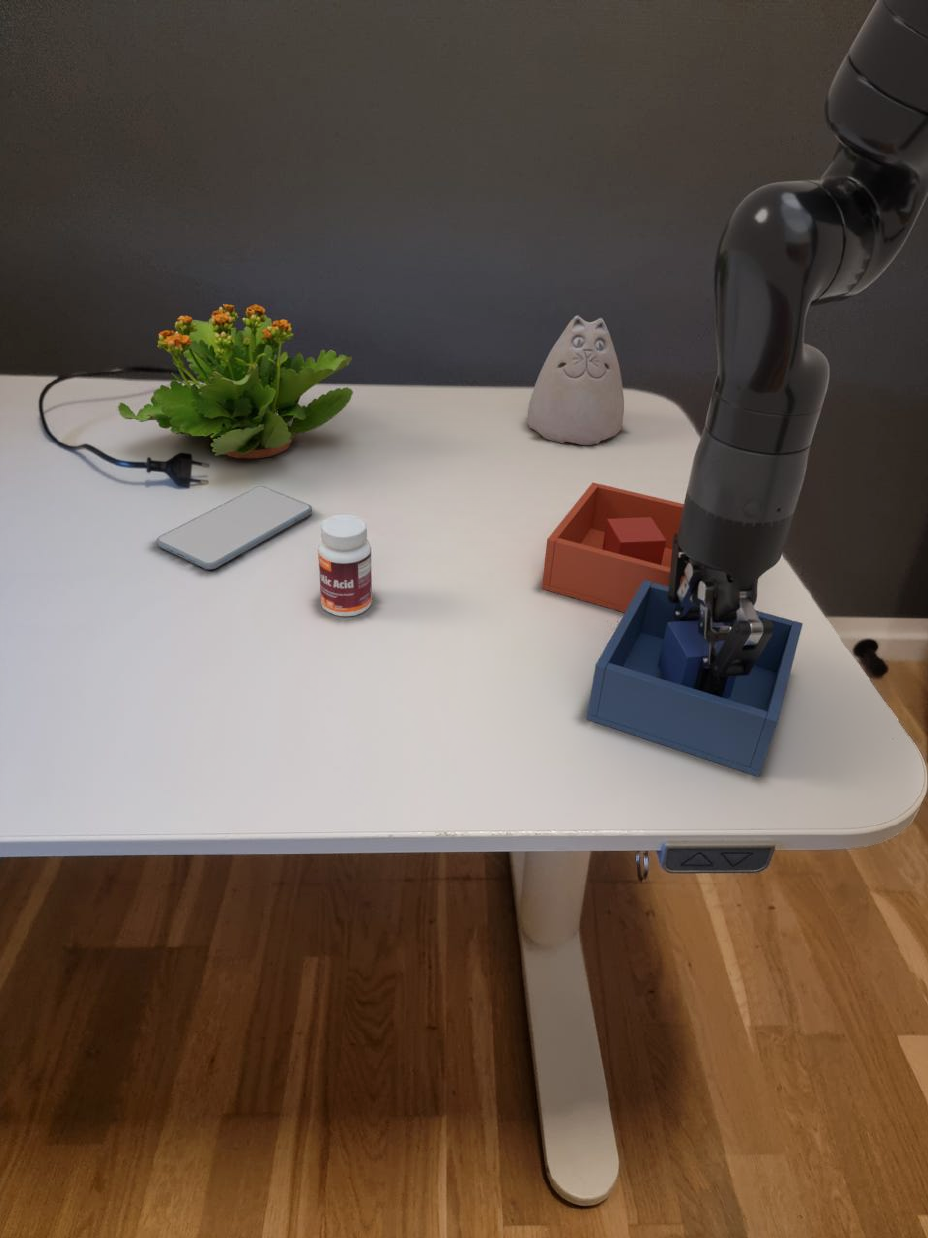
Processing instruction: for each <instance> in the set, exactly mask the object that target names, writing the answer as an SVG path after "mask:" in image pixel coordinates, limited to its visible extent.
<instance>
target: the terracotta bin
mask: <svg viewBox="0 0 928 1238" xmlns="http://www.w3.org/2000/svg"><path fill="white" fill-rule="evenodd" d="M683 506H684V503H681V502H677V501H672V500H668V499H664V498H659V497H656V496H653V495H648V494H643V493H639V492H635V491H631V490H627V489H624V488H618V487H614V486H611V485H610V486H609V485H605V484H603V483H597V482H592V483H591V484H590V485H589V486H588V488H586V489H585V491H584V492H583V493H582V495H581V496H580V497H579V499H578V500H577V502H576V503H575V504H574V505H573V506H572V508H571V509H570V510H569V511H568V512H567V514H565V516H564V517H563V518H562V519H561V521H560V523H559V524H558V525H557V526H556V528H555V529H554V530H553V532H551V534H550V535H549V536H548V538H547V539H546V546H545V555H544V564H543V572H542V582H541V590H546V591H548V592H552V593H555V594H559V595H562V596H566V597H569V598H573V599H577V600H580V601H583V602H587V603H591V604H594V605H597V606H600V607H604V608H608V609H611V610H615V611H618V612H621V613H625V612H626V610H627V609H628V607H629V605H630V603H631V601H632V600H633V598H634V596H635V594H636V593H637V591H638V589H639V587H640V586H641V584H642V582H643V580H646V581H649V582H652V583H657V584H661V585H664V586H668V587H669V579H670V568H671V556H672V545H673V536H674V534H675V533H678V529H679V525H680V520H681V515H682V511H683ZM643 517H651V518H652V520H653V521H654V522H655V524H656V525H657V527H658V528H659V530H660V531H661V533H662V534H663V536H664V537H665V539H666V545H665V549H664V554H663V559H662V564H661V565H659V564H655V563H651V562H647V561H643V560H640V559H636V558H632V557H628V556H625V555H621V554H617V553H613V552H609V551H606V550H602V548H603V542H604V536H605V529H606V523H607V519H617V518H643ZM683 579H684V576H683V577H682V578H681V580H680V585H681V583H682V581H683Z"/></svg>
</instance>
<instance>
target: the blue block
mask: <svg viewBox="0 0 928 1238" xmlns="http://www.w3.org/2000/svg"><path fill="white" fill-rule="evenodd" d="M698 623H699V620H696V621H678V622H668V623H667V627H666V631H665V636H664V640H663V645H662V649H661V654H660V658H659V662H658V667H659V669H660V671H661V673H662V675H663V677H664V679H665V680H667V681H670V682H673V683H676V684H680V685H683V686H686V687H689V688H693V689H694V686H695V683H696V679H697V675H698V671H699V667H700V663H701V662H702V650H703V638H702V637H701V636H699V634H698ZM718 626H725V625H724V624H723V623H714V622H712V627H718ZM724 642H725V640H723V641H718V642H717V643H716V647H715V653H716V652H719V651H720V649H721V647H722V645H723V643H724ZM735 680H736V676H729V677H728V679H727V683H726V686H725V690H724V693H723V697H722V698H730V697H731V693H732V690H733V686H734V683H735Z"/></svg>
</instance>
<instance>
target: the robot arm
mask: <svg viewBox="0 0 928 1238" xmlns="http://www.w3.org/2000/svg"><path fill="white" fill-rule="evenodd" d="M823 116H824V117H823V118H824V120H825V124H826V125H827V128H828V130H829V131H830V133H831V134H832V135H833V137H834V138H835V140H836V141H838V145H837V147H836V149H835V153H834V155H833V157H832V159H831V161H830V163H829V165H828V166H827V168H826V170H825V171H824V172H823V173H822V175H821V176H820V177H819V178H812V179H801V180H800V179H798V180H786V181H776V182H771V183H767V184H765V185H762V186H759V187H758V188H755V189H754V190H753V191H751V192H750V193H748V194H747V195H746V196H745V197H743V199H741V201H740V202H739V203H738V205H737V206H735V208H734V209H733V211H732V213H731V215H730V216H729V218H728V220H727V221H726V224H725V225H724V228H723V230H722V233H721V235H720V238H719V241H718V244H717V248H716V251H715V252H716V253H715V256H714V266H713V295H714V296H713V297H714V298H713V299H714V321H715V345H716V357H717V370H716V371H717V372H716V375H715V379H714V383H713V387H712V391H711V394H710V400H709V405H708V409H707V414H706V419H705V424H704V427H703V430H702V434H701V436H700V439H699V441H698V444H697V447H696V450H695V453H694V457H693V461H692V465H691V470H690V475H689V479H688V483H687V488H686V492H685V496H684V497H685V498H684V502H683V504H684V506H683V511H682V515H681V520H680V525H679V529H678V533H675V534H674V536H673V545H672V556H671V568H670V579H669V590H668V599H669V602H670V603H676V607H675V610H674V617H675V620H676V621H677V622H678V621H696V620H699V623H698V634H699V636H701V637H702V638H703V650H702V662H701V663H700V667H699V671H698V675H697V679H696V683H695V686H694V689H696V690H699V691H702V692H706V693H709V694H712V695H715V696H718V697H723V693H724V690H725V686H726V683H727V679H728V677H729V676H744V675H749V673H750V671H751V670H752V668H753V666H754V665H755V663H756V661H757V660H758V658H759V656H760V654H761V653H762V651H763V649H764V648H765V646H766V644H767V642H768V641H769V639H770V637H771V636H772V634H773V629H774V628H773V623H772V621H771V620H770V619H763V620H759V618H758V615H757V613H756V611H757V610H756V609H755V605H756V602H757V599H758V583H759V579H760V578H761V576H763V575H764V574H765V573H766V572H768V571H769V570H770V569H772V568H774V567H775V566H776V565H777V564H778V562H780V560H781V558H782V555H783V553H784V549H785V545H786V542H787V539H788V536H789V531H790V530H791V525H792V522H793V519H794V516H795V513H796V508H797V505H798V502H799V498H800V495H801V492H802V489H803V486H804V484H805V483H804V482H805V478H806V474H807V468H808V464H809V463H808V462H809V457H810V449H811V446H812V441H813V438H814V435H815V431H816V428H817V424H818V421H819V418H820V415H821V412H822V408H823V404H824V401H825V398H826V395H827V391H828V387H829V382H830V374H831V373H830V371H831V370H830V362H829V360H828V359H827V357H826V356H825V354H824V353H823V352H822V351H821V350H820V349H819V348H816V347H815V346H814V345H811V343H807V342H805V324H806V319H807V314H808V311H809V308H810V307H815V306H820V305H826V304H832V303H837V302H841V301H844V300H847V299H848V300H849V298H852V297H854V296H856V295H858V294H860V293H861V292H863V291H864V290H865V289H867V288H868V287H869V286H870V285H871V284H873V283H874V282H875V281H876V280H877V279H878V278H879V277H880V276H881V275H882V273H884V272H885V271H886V269H887V268H888V267H889V266H890V265H891V263H892V262H893V261H894V260H895V258H896V256H897V255H898V254H899V253H900V251H901V249H902V248H903V246H904V244H905V243H906V241H907V239H908V237H909V235H910V233H911V231H912V229H913V228H914V225H915V223H916V221H917V219H918V217H919V215H920V213H921V211H922V208H923V206H924V204H925V202H926V200H927V197H928V0H876V1H875V3H874V5H873V6H872V9H871V10H870V12H869V14H868V16H867V17H866V19H865V20H864V23H863V24H862V26H861V28H860V30H859V31H858V34H857V35H856V37H855V38H854V40H853V42H852V44H851V46H850V47H849V49H848V52H847V53H846V54H845V57H844V58H843V60H842V62H841V63H840V65H839V68H838V69H837V71H836V73H835V75H834V77H833V79H832V82H831V83H830V86H829V88H828V90H827V93H826V96H825V100H824V105H823ZM683 576H684V579H683V581H682V583H681V585H680V580H681V578H682V577H683ZM755 610H756V611H755ZM733 621H734V623H733V624H732V625H730V626H718V627H712V622H714V623H725V622H733ZM723 640H725V642H724V643H723V645H722V647H721V649H720V651H719V652H716V653H715V647H716V643H717V642H718V641H723Z"/></svg>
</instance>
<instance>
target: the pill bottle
mask: <svg viewBox="0 0 928 1238" xmlns="http://www.w3.org/2000/svg"><path fill="white" fill-rule="evenodd" d="M320 538H321V540H320V542H319V544H318V548H317V556H318V557H317V558H318V568H319V569H318V570H319V571H318V574H319V575H318V576H319V589H320V592H319V593H320V603H321V607H322V608H323V609H324V610H325V611H326V612H328V613H330V614H332V615H334V616H337V617H353V616H357V615H359V614H360V615H361V614H362V613H364V612H366V611H367V610H368V609H369V608H370V607H371V606H372V602H373V588H372V587H373V585H372V583H373V581H372V580H373V579H372V578H373V577H372V576H373V575H372V545H371V543H370V541H369V539H368V526H367V523H366V521H365V520H364V519H363V518H362V517H360V516H357V515H354V514H347V513H346V514H345V513H343V514H335V515H331V516H329V517H326V518H325V519H324V520H323V521H322V522H321V524H320Z"/></svg>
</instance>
